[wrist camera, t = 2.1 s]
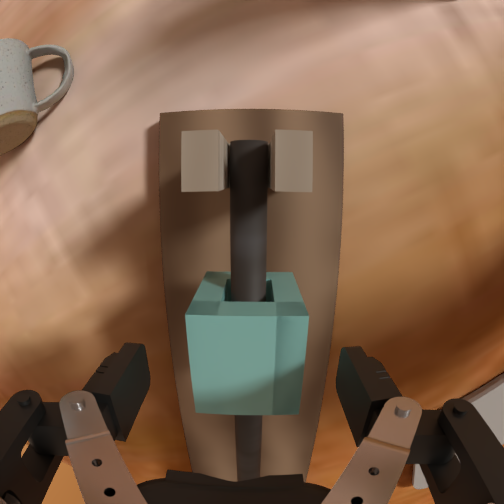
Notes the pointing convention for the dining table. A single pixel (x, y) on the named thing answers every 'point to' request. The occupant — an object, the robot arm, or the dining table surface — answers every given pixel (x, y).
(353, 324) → the dining table surface
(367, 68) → the dining table surface
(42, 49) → the ceramic mug
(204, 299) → the sleeve
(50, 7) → the dining table surface
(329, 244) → the stand
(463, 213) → the dining table surface
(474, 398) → the tablet
